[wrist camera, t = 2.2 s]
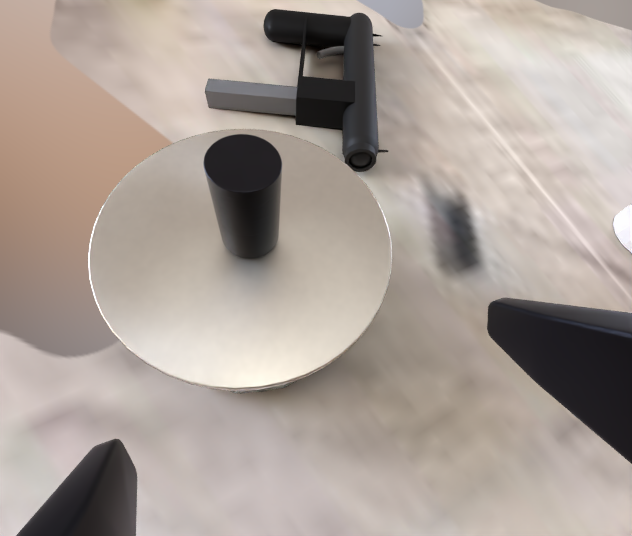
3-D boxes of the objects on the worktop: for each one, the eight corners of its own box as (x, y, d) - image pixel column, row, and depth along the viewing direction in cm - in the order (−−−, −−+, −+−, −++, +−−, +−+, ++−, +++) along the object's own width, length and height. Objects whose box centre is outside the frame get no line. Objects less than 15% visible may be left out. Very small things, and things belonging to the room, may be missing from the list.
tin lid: (356, 433, 14) (413, 437, 9) (31, 338, 14) (-123, 281, 9) (401, 182, 21) (450, 93, 15) (179, 117, 21) (147, 4, 15)
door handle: (186, 132, 25) (397, 150, 25) (230, -7, 34) (385, 9, 34) (198, 164, 28) (386, 179, 28) (235, 28, 37) (377, 43, 37)
